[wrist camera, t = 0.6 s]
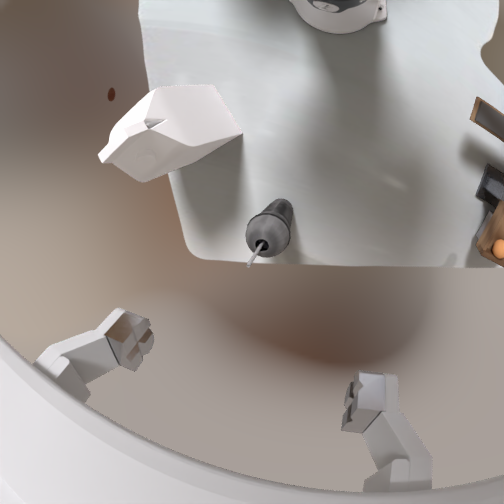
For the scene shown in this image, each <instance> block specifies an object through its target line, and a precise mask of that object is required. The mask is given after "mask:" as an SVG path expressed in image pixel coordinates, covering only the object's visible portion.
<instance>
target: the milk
mask: <svg viewBox="0 0 504 504" xmlns="http://www.w3.org/2000/svg"><path fill="white" fill-rule="evenodd" d="M241 134H243V133H242V131H241V129H240V127H239V126H238V124H237V122H236V121H235V119H234V117H233V116H232V114H231V112H230V111H229V109H228V107H227V106H226V104H225V102H224V101H223V99H222V97H221V96H220V94H219V93H218V91H217V89H216V88H215V86H214V85H177V86H161V87H158V88H156V89H154V90H153V91H151V92H149V93H148V94H147V95H146V96H145V97H144V98H143V99H141V100H140V101H139V102H138V103H137V104H136V105H135V106H134V107H133V108H132V109H131V110H130V111H129V112H128V113H127V114H126V115H125V116H124V117H122V118H121V119H120V120H119V121H118V122H117V124H116V125H115V126H114V128H113V129H112V131H111V133H110V139H109V143H108V145H106V146H105V147H104V149H103V150H102V151H101V152H100V153H99V154H98V156H99V158H100V160H101V162H102V163H113V164H114V165H115V166H117V167H118V168H120V169H121V170H123V171H124V172H125V173H127V174H128V175H130V176H131V177H133V178H134V179H136V180H137V181H140V182H147V181H149V180H152V179H154V178H156V177H159V176H161V175H164V174H166V173H169V172H171V171H174V170H176V169H179V168H181V167H184V166H186V165H189V164H192V163H194V162H196V161H198V160H199V159H201V158H203V157H204V156H206V155H207V154H209V153H211V152H212V151H214V150H215V149H217V148H219V147H220V146H222V145H224V144H225V143H227V142H229V141H231V140H232V139H234V138H236V137H237V136H239V135H241Z"/></svg>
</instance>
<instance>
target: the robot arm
mask: <svg viewBox="0 0 504 504" xmlns="http://www.w3.org/2000/svg"><path fill="white" fill-rule="evenodd" d="M288 1H290V2H291V3H292V4H293V5H294V6H295V8H296V10H297V12H298V14H299V15H300V16H301V17H302V19H303V20H304V21H306V22H307V23H308V24H310V25H311V26H313V27H315V28H317V29H319V30H322V31H325V32H329V33H335V34H346V33H352V32H355V31H358V30H360V29H362V28H364V27H365V26H367V25H368V24H370V23H372V22H378V21H383V20H385V19H386V16H387V10H386V0H288ZM378 8H381V9H382V10H378ZM150 325H151V324H150V321H149V319H147V318H144V317H142V316H139V315H137V314H134V313H132V312H129V311H126V310H124V309H121V308H117V309H115V310H114V311H113V312H112V313H111V314H110V315H109V316H108V317H107V318H106V319H105V320H104V321H103V322H102V323H101V325H100V326H99V327H98V328H97V329H96V330H95V331H94V330H90V331H88V332H85V333H83V334H80V335H77V336H75V337H72V338H69V339H66V340H64V341H61V342H58V343H56V344H53V345H50V346H49V347H48V348H47V349H46V350H45V351H44V352H43V353H42V354H41V355H40V357H39V358H38V359H37V360H36V361H35V362H34V363H33V364H31V363H30V362H29V361H28V360H27V359H26V358H24V357H23V356H22V355H21V354H20V353H19V352H18V351H17V350H16V349H14V348H13V347H12V346H11V345H10V344H9V343H8V342H7V341H6V340H5V339H4V338H3V337H2V336H1V335H0V504H504V475H501V476H497V477H493V478H489V479H485V480H481V481H477V482H473V483H468V484H463V485H457V486H452V487H445V488H439V489H432V456H431V455H430V453H429V451H428V450H427V448H426V447H425V445H424V444H423V442H422V441H421V439H420V438H419V436H418V435H417V433H416V432H415V430H414V429H413V427H412V426H411V424H410V423H409V421H408V420H407V418H406V417H405V416H404V414H403V413H399V389H398V377H397V375H394V374H383V373H378V372H370V371H362V370H358V371H357V372H356V373H355V375H354V381H353V382H351V383H350V385H349V387H348V389H347V392H346V396H345V404H344V406H345V408H346V409H347V410H346V412H345V413H344V415H343V419H342V427H341V430H342V431H348V432H356V433H363V434H362V436H363V438H364V440H365V442H366V445H367V447H368V449H369V451H370V453H371V456H372V458H373V460H374V462H375V464H376V467H377V469H378V472H376V473H375V474H373V475H372V476H370V477H369V478H367V479H366V480H365V481H364V487H363V492H347V491H346V492H345V491H333V490H324V489H315V488H308V487H301V486H295V485H288V484H283V483H278V482H273V481H269V480H264V479H260V478H256V477H252V476H248V475H244V474H240V473H237V472H233V471H230V470H227V469H223V468H220V467H217V466H214V465H211V464H208V463H205V462H202V461H200V460H197V459H194V458H192V457H189V456H186V455H183V454H181V453H179V452H176V451H174V450H172V449H169V448H167V447H165V446H162V445H160V444H158V443H156V442H153V441H151V440H149V439H147V438H145V437H143V436H141V435H139V434H137V433H135V432H133V431H131V430H129V429H127V428H125V427H124V426H122V425H120V424H118V423H116V422H115V421H113V420H111V419H109V418H108V417H106V416H104V415H103V414H101V413H99V412H98V411H96V410H94V409H93V408H91V407H90V406H88V405H87V404H85V402H86V401H87V399H88V398H89V396H90V391H89V390H88V388H87V387H86V385H85V384H87V383H89V382H91V381H93V380H94V379H96V378H98V377H100V376H102V375H104V374H105V373H107V372H109V371H111V370H113V369H115V368H116V367H118V366H119V365H120V366H123V367H125V368H127V369H129V370H132V371H134V372H135V371H136V370H137V368H138V367H139V366H140V364H141V363H142V361H143V355H145V354H148V353H149V351H150V350H151V349H152V346H153V343H154V335H153V332H152V331H151V330H150V329H149V327H150Z"/></svg>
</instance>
